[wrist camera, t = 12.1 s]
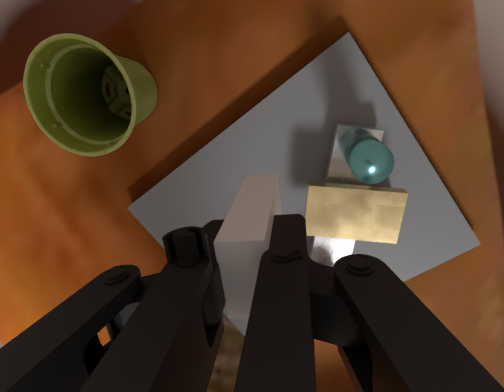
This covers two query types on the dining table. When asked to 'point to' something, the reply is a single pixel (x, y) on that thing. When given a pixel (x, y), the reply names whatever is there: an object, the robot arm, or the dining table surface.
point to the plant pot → (86, 94)
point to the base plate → (314, 164)
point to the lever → (352, 177)
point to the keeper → (354, 211)
